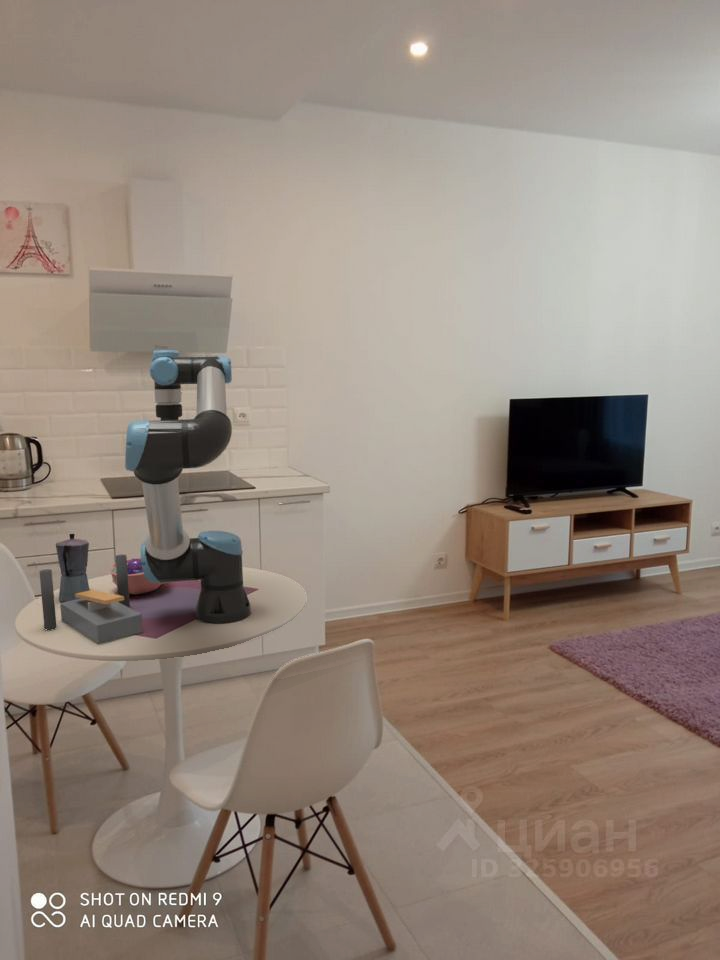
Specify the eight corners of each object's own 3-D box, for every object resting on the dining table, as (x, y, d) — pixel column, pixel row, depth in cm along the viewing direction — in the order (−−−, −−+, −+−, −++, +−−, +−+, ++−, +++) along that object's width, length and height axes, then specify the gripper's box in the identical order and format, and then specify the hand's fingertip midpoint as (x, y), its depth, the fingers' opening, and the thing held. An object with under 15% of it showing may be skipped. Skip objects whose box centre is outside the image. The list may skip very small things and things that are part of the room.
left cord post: (58, 628, 201) (53, 570, 198) (47, 631, 199) (41, 573, 196) (54, 625, 203) (49, 568, 200) (42, 628, 201) (37, 570, 199)
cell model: (178, 582, 241) (177, 548, 239) (153, 602, 221) (151, 565, 219) (129, 580, 243) (126, 546, 241) (99, 600, 224) (96, 564, 222)
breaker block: (142, 632, 198) (140, 605, 196) (98, 644, 190) (96, 616, 188) (103, 610, 215) (101, 585, 214) (61, 620, 207) (59, 595, 206)
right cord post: (131, 610, 215) (128, 555, 212) (121, 612, 213) (118, 558, 210) (127, 607, 217) (123, 554, 215) (117, 609, 215) (113, 555, 213)
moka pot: (96, 590, 233) (92, 528, 230) (87, 607, 218) (82, 540, 215) (64, 592, 231) (59, 529, 228) (52, 609, 216) (47, 541, 213)
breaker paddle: (124, 600, 195) (123, 596, 195) (105, 604, 192) (105, 600, 192) (93, 593, 210) (92, 589, 210) (75, 597, 207) (75, 593, 207)
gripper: (191, 403, 217) (195, 484, 221) (169, 402, 226) (173, 479, 230) (167, 405, 212) (172, 487, 216) (146, 403, 221) (150, 482, 225)
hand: (172, 483), depth 223 cm, fingers closed
